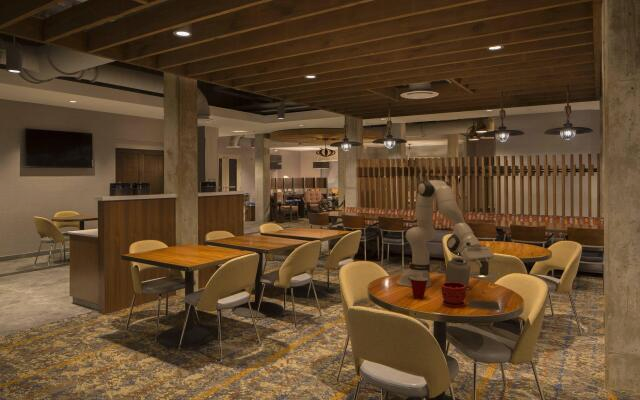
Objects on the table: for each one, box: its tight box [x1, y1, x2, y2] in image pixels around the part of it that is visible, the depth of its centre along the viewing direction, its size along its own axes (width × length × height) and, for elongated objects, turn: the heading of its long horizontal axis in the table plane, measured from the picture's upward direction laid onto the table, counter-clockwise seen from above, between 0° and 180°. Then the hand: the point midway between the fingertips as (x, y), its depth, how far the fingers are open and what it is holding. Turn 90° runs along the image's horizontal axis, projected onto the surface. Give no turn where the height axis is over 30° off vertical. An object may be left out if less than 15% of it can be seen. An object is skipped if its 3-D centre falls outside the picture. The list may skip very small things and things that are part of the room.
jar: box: [444, 257, 472, 288], centre depth 294 cm, size 19×15×25 cm
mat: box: [467, 299, 502, 311], centre depth 253 cm, size 16×16×1 cm
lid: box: [470, 260, 498, 280], centre depth 252 cm, size 14×14×8 cm
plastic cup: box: [410, 277, 428, 300], centre depth 269 cm, size 11×11×12 cm
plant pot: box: [441, 282, 467, 308], centre depth 253 cm, size 13×13×12 cm
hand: (484, 266), depth 251 cm, fingers closed on lid, 3 cm apart
